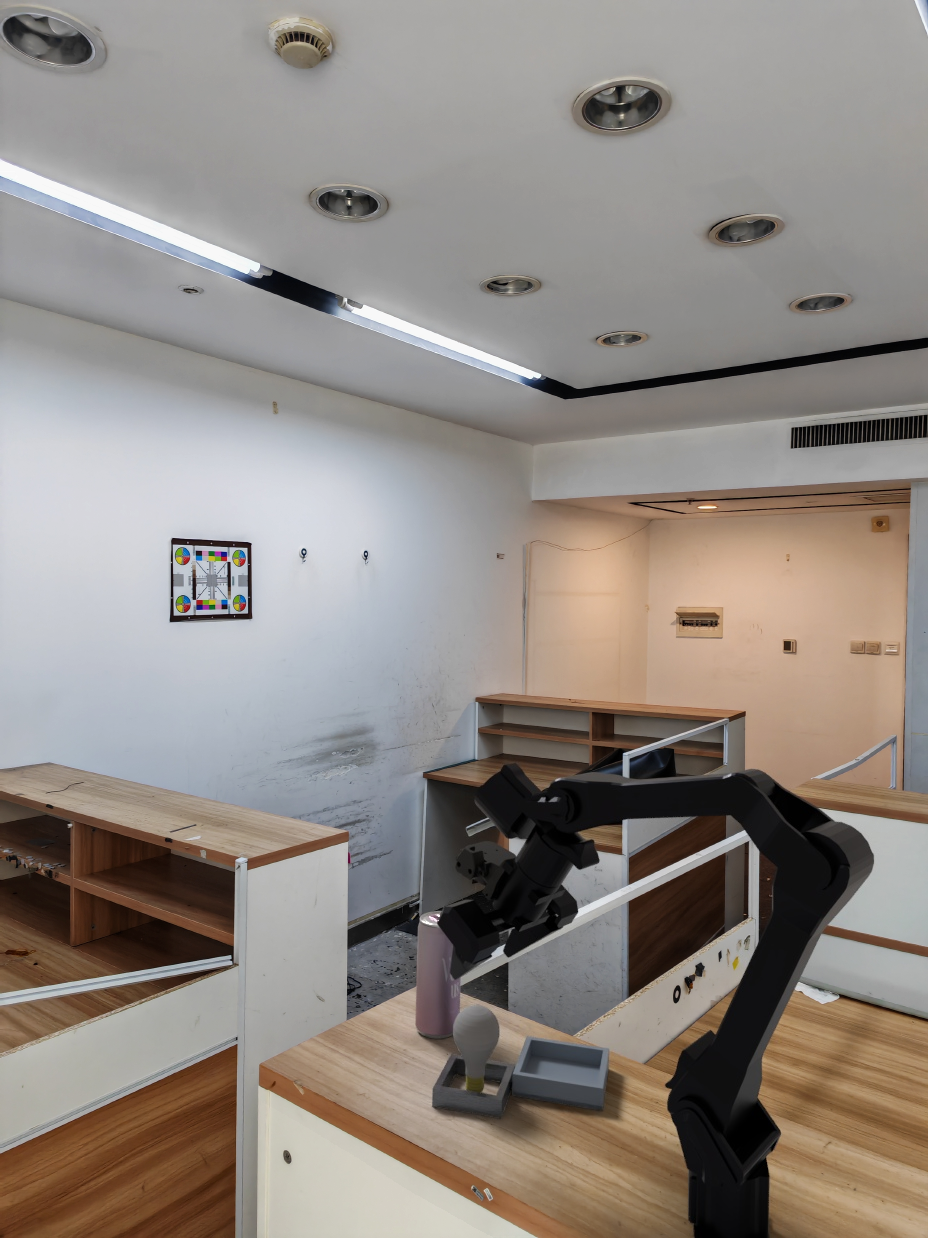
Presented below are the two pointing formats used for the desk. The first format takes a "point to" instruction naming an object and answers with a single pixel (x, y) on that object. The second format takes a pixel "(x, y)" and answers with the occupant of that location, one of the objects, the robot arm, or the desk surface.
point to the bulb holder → (469, 1099)
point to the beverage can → (435, 981)
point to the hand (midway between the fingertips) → (480, 965)
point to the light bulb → (476, 1042)
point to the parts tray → (562, 1073)
